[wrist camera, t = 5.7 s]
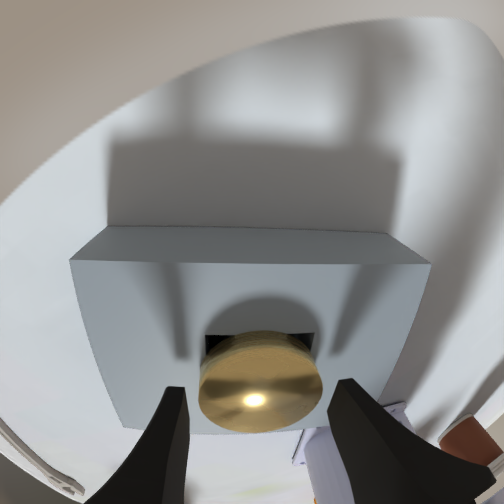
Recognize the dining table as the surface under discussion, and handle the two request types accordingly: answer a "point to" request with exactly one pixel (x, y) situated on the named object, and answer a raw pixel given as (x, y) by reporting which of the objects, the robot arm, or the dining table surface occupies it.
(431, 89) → the dining table surface
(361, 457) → the robot arm
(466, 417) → the coffee cup
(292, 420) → the brass door knob
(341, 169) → the dining table surface
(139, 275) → the block
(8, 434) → the adjustable wrench
